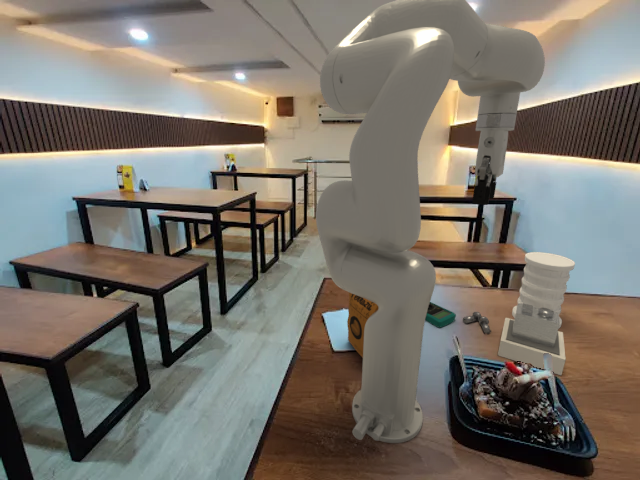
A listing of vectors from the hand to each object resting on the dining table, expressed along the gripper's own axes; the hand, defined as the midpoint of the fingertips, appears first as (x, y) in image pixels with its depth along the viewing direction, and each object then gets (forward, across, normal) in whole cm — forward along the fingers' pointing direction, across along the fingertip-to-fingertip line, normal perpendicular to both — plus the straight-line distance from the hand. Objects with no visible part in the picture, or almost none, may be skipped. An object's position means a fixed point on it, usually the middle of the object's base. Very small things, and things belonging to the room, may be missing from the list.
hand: (483, 200), depth 74 cm
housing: (+30, -2, -15) cm, 34 cm away
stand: (+34, -2, -15) cm, 37 cm away
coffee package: (+34, -23, +16) cm, 44 cm away
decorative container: (+34, +16, -16) cm, 41 cm away
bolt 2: (+34, +2, -5) cm, 35 cm away
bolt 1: (+34, +4, -1) cm, 35 cm away
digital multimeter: (+35, +2, +11) cm, 37 cm away
